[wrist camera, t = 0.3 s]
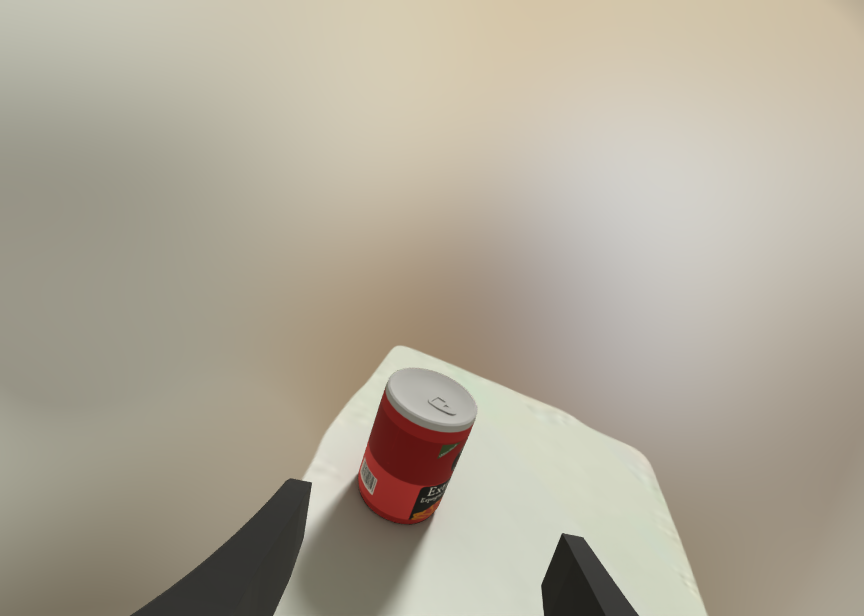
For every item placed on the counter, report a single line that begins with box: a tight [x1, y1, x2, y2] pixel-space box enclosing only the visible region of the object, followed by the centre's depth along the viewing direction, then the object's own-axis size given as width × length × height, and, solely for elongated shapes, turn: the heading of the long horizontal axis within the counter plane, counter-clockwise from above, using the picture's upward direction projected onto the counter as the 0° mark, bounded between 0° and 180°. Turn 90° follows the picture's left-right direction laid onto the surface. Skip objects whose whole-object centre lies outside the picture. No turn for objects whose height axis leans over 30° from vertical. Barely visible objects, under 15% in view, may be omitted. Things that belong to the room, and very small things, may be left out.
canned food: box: [358, 368, 477, 524], centre depth 39 cm, size 8×8×11 cm
